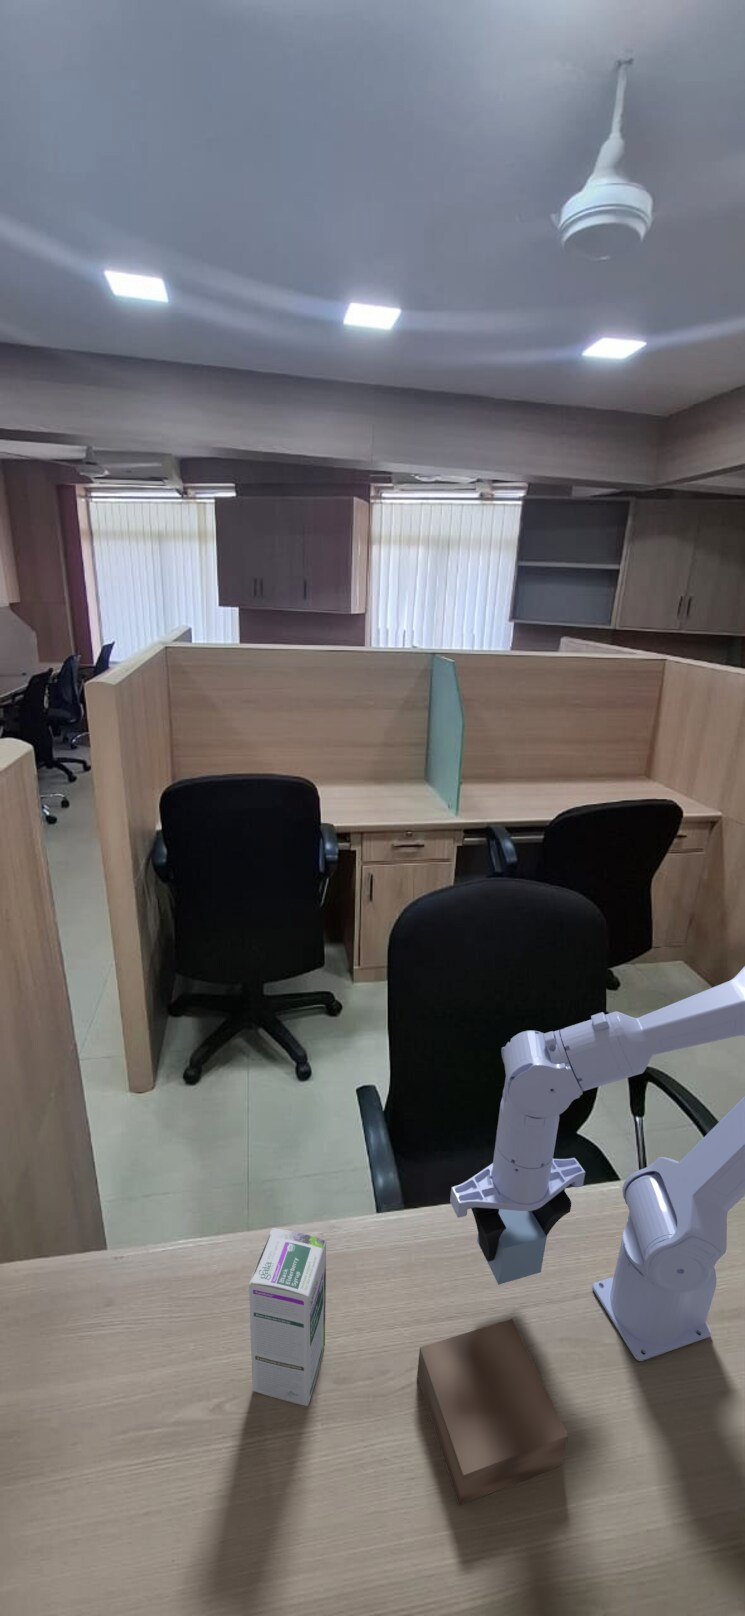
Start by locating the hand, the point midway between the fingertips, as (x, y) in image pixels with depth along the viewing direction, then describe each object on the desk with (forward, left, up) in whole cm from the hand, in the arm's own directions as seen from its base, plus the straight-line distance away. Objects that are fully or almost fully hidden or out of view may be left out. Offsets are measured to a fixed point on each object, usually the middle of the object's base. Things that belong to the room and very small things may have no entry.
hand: (510, 1245), depth 70 cm
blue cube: (0, 0, -2) cm, 2 cm away
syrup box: (+24, +1, -7) cm, 25 cm away
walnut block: (+7, +10, -7) cm, 14 cm away
